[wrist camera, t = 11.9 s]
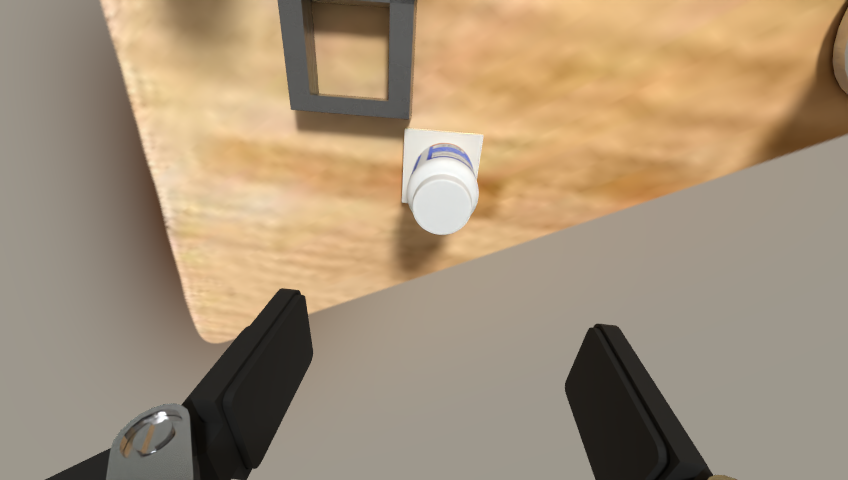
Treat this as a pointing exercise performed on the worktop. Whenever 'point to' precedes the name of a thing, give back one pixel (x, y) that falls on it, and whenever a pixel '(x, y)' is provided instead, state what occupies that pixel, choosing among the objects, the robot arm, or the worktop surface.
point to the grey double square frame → (304, 69)
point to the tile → (425, 138)
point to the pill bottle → (442, 189)
